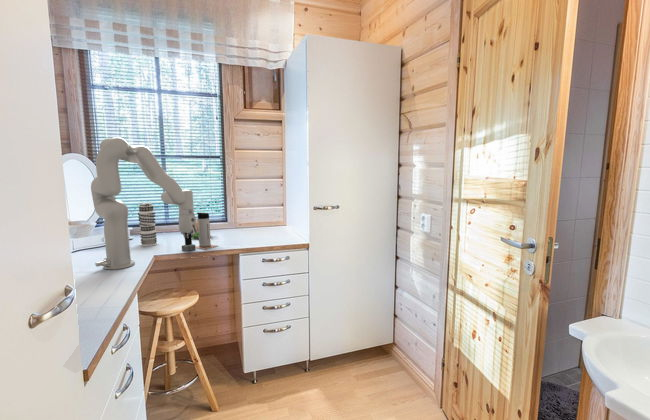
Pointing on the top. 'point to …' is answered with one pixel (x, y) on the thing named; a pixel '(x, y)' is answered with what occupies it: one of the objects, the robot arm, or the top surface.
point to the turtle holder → (197, 231)
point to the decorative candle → (147, 224)
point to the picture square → (206, 247)
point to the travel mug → (204, 230)
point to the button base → (188, 248)
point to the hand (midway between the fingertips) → (188, 244)
